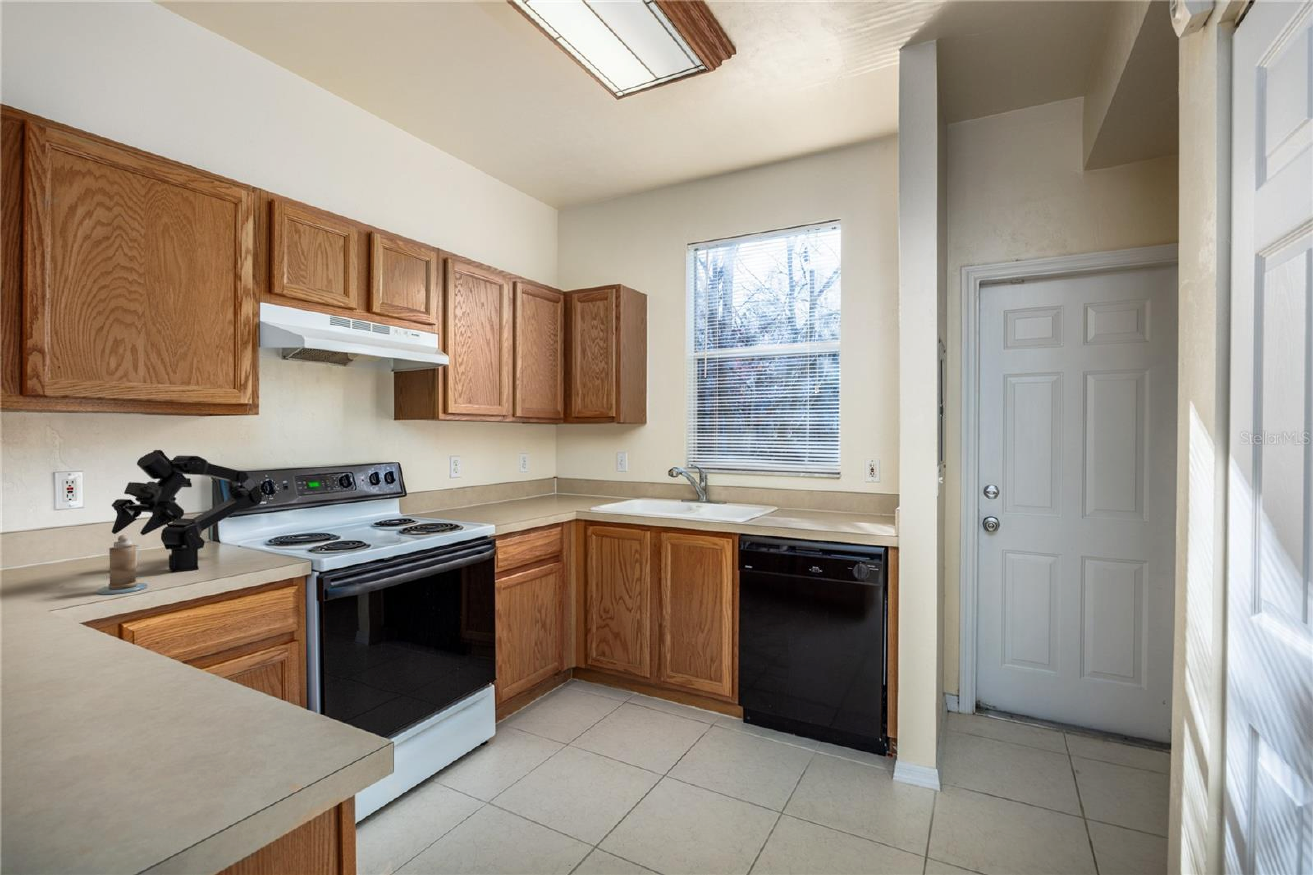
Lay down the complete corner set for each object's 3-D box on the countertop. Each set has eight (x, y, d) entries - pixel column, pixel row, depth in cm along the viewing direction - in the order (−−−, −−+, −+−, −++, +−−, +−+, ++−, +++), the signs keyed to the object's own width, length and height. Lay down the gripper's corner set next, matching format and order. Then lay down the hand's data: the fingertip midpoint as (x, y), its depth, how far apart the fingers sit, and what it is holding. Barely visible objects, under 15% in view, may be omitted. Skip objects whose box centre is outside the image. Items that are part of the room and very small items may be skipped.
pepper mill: (129, 583, 166) (129, 532, 166) (141, 586, 164) (141, 534, 164) (104, 588, 161) (104, 535, 161) (115, 591, 159) (115, 537, 159)
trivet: (146, 583, 170) (146, 580, 170) (147, 590, 162) (147, 588, 162) (97, 588, 163) (97, 586, 163) (96, 596, 156) (96, 594, 156)
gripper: (118, 470, 176) (76, 514, 165) (174, 472, 173) (135, 516, 162) (145, 495, 184) (106, 539, 173) (199, 497, 181) (164, 541, 170)
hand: (127, 533), depth 169 cm, fingers open, 9 cm apart
